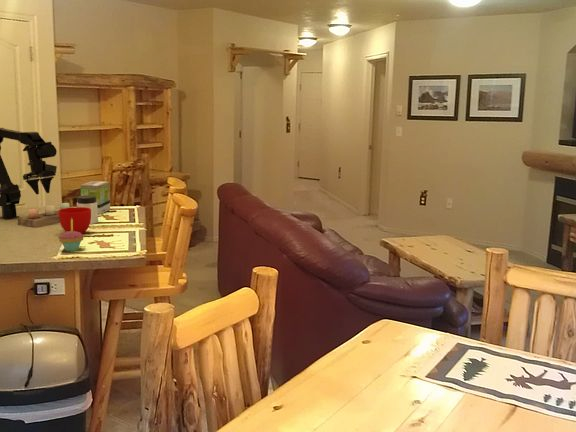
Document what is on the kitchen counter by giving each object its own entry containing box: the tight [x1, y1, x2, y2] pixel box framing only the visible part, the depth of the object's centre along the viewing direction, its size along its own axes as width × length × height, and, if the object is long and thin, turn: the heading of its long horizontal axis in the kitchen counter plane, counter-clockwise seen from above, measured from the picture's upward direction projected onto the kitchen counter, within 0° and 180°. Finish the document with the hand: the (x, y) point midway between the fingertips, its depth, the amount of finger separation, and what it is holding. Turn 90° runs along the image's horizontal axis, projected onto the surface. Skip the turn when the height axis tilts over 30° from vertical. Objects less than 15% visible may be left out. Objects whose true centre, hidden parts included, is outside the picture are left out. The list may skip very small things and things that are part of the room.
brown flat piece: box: [17, 209, 60, 228], centre depth 276 cm, size 12×25×3 cm, turn 149°
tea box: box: [80, 180, 111, 216], centre depth 297 cm, size 15×10×15 cm
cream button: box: [44, 205, 56, 216], centre depth 275 cm, size 4×4×4 cm
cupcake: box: [58, 219, 84, 252], centre depth 224 cm, size 9×8×12 cm
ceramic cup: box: [57, 206, 91, 235], centre depth 253 cm, size 13×17×10 cm
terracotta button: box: [27, 207, 40, 219], centre depth 268 cm, size 4×4×4 cm
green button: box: [59, 202, 71, 209], centre depth 282 cm, size 4×4×4 cm
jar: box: [76, 195, 99, 225], centre depth 272 cm, size 9×8×12 cm
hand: (42, 193), depth 274 cm, fingers open, 9 cm apart
